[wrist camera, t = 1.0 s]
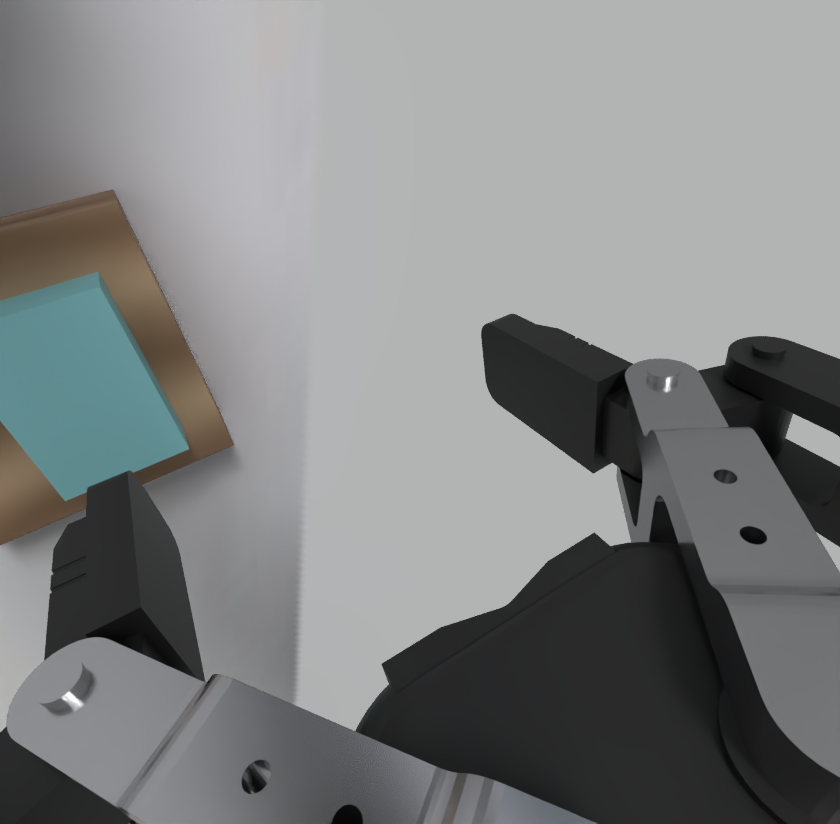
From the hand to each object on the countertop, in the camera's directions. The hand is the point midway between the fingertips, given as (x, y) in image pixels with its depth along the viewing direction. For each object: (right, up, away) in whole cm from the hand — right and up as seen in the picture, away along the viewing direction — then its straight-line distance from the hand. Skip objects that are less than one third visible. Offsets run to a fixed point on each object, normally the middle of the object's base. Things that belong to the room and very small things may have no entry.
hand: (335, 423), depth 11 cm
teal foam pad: (-14, +1, +13) cm, 19 cm away
